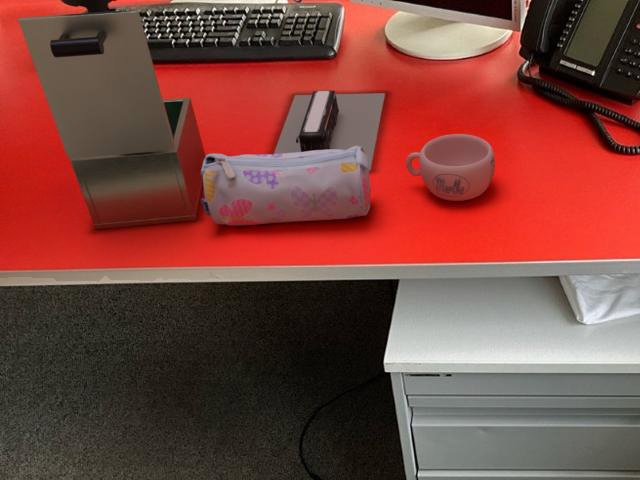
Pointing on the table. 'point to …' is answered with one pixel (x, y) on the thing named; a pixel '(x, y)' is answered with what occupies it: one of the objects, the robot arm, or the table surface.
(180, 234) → the table surface
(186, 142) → the box
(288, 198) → the pencil case
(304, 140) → the flat grey base plate
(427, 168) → the mug
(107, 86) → the freezer lid
